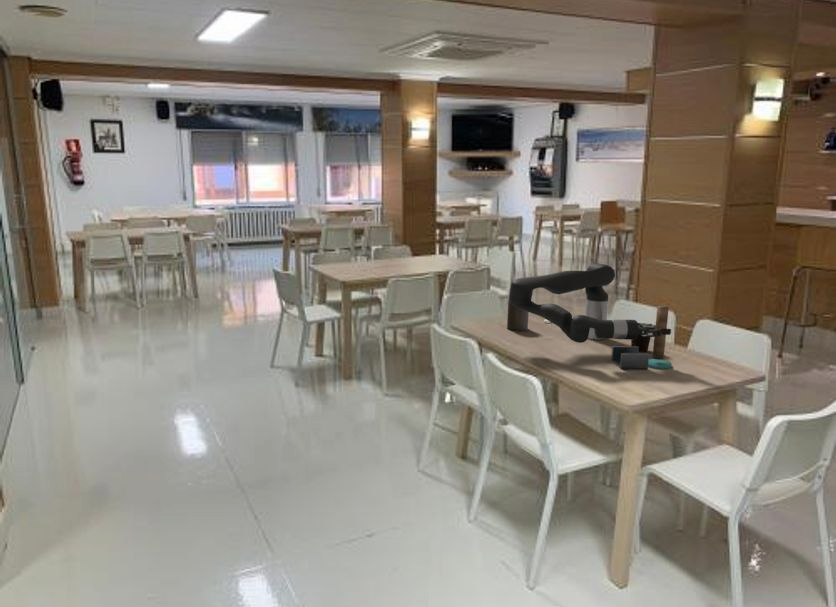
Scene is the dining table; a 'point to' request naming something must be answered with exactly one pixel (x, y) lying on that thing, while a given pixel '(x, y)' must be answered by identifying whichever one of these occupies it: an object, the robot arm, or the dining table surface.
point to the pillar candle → (517, 318)
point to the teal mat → (659, 364)
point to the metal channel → (629, 358)
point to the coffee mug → (641, 343)
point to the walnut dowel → (660, 341)
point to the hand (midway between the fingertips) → (667, 330)
